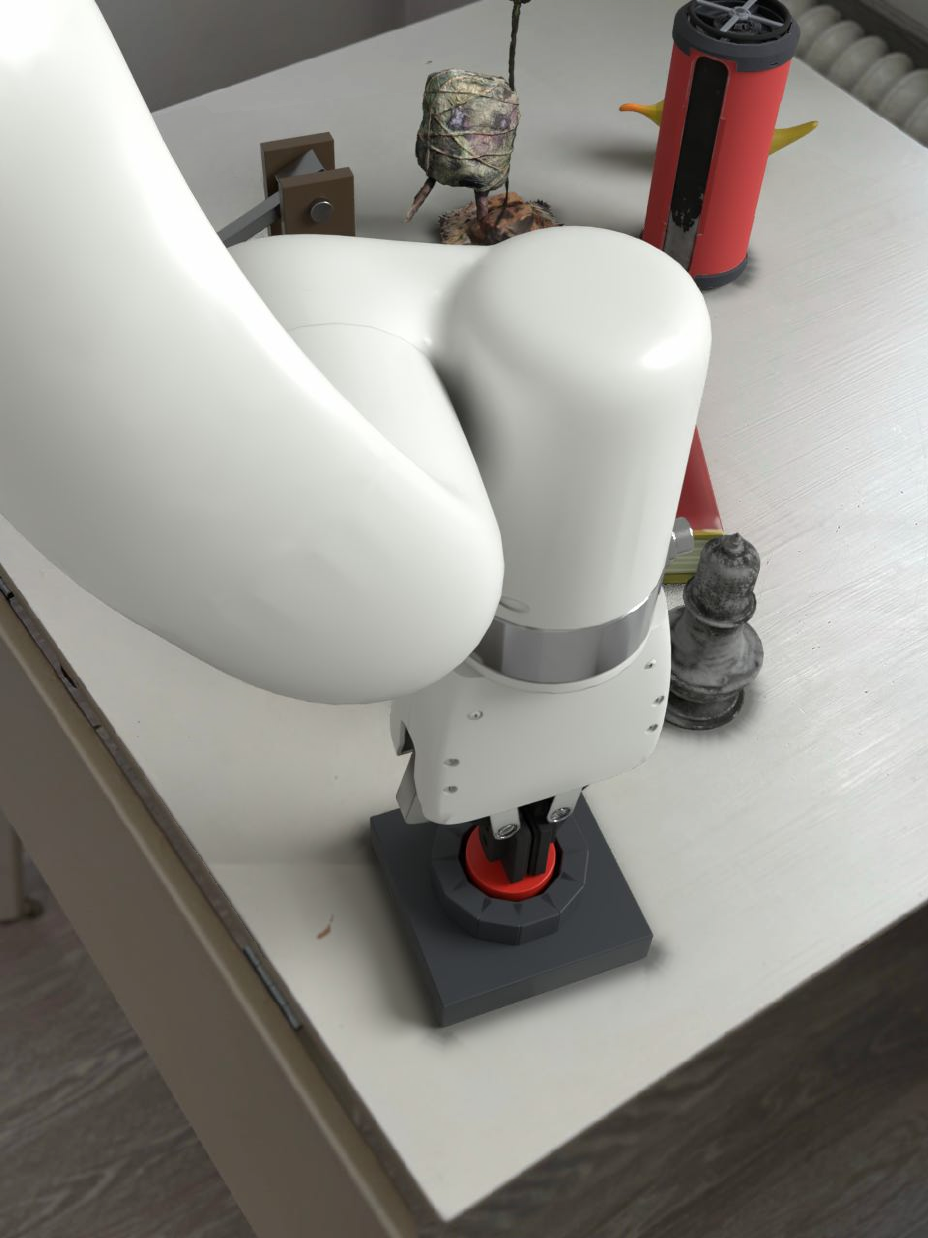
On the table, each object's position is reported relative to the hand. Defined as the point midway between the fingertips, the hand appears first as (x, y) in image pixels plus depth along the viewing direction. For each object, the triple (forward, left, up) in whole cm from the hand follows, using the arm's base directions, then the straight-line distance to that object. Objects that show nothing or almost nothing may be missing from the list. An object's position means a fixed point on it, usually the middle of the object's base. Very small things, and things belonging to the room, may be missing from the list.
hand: (514, 851), depth 60 cm
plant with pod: (+18, +49, -4) cm, 52 cm away
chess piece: (+14, +8, -4) cm, 17 cm away
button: (0, 0, -2) cm, 2 cm away
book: (+16, +26, -4) cm, 31 cm away
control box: (0, 0, -4) cm, 4 cm away
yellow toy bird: (+37, +52, -4) cm, 64 cm away
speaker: (+31, +42, -4) cm, 52 cm away
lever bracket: (+4, +44, -4) cm, 44 cm away
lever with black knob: (0, +44, +2) cm, 44 cm away
